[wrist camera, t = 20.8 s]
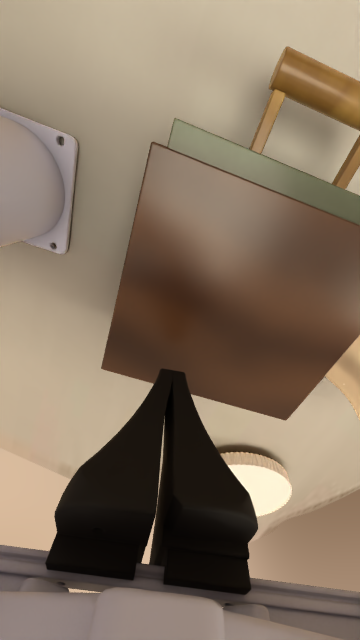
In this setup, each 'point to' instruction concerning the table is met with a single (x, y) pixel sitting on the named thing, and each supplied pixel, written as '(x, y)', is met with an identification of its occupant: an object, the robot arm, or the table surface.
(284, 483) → the plastic lid
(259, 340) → the cabinet
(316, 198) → the drawer
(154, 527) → the robot arm
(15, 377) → the table surface
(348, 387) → the beer glass
